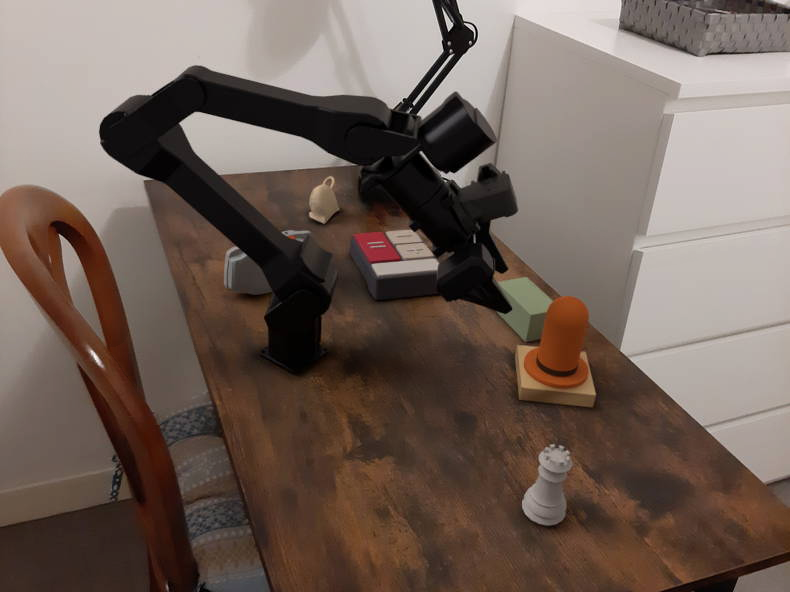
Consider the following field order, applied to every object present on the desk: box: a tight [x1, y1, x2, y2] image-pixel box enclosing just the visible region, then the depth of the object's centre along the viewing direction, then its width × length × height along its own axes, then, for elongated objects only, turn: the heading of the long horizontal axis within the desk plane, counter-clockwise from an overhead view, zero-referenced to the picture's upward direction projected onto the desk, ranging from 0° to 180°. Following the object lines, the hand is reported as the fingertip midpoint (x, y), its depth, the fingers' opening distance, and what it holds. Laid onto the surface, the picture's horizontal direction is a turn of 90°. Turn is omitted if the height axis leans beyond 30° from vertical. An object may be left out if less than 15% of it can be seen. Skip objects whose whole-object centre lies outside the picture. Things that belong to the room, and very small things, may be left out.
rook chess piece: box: [521, 443, 573, 527], centre depth 75 cm, size 4×4×8 cm
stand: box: [514, 344, 597, 408], centre depth 95 cm, size 9×9×2 cm
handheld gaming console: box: [223, 229, 316, 296], centre depth 108 cm, size 14×3×8 cm, turn 124°
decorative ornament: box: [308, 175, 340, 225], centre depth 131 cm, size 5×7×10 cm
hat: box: [524, 295, 590, 388], centre depth 92 cm, size 8×8×10 cm
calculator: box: [349, 229, 441, 301], centre depth 116 cm, size 11×4×15 cm
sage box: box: [495, 276, 554, 343], centre depth 106 cm, size 5×9×4 cm, turn 24°
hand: (507, 290), depth 90 cm, fingers open, 9 cm apart
